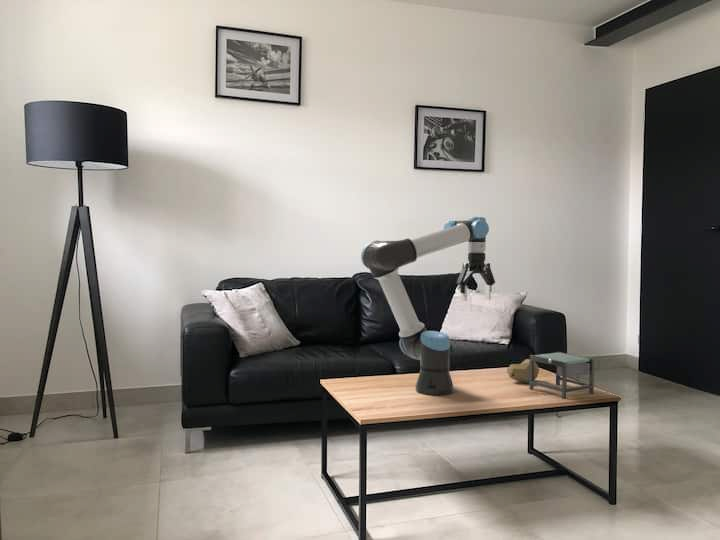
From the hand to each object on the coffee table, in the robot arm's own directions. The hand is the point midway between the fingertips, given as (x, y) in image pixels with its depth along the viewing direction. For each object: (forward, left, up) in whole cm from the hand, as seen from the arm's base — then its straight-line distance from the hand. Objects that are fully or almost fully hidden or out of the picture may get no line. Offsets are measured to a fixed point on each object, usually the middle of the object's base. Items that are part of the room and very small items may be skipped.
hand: (475, 300), depth 261 cm
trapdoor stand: (+15, -35, -35) cm, 52 cm away
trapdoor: (+15, -35, -27) cm, 47 cm away
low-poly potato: (+14, -15, -35) cm, 40 cm away
